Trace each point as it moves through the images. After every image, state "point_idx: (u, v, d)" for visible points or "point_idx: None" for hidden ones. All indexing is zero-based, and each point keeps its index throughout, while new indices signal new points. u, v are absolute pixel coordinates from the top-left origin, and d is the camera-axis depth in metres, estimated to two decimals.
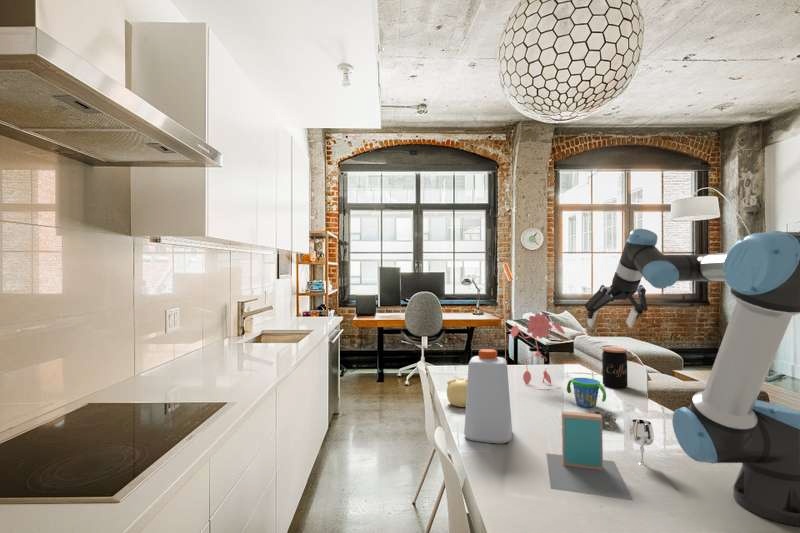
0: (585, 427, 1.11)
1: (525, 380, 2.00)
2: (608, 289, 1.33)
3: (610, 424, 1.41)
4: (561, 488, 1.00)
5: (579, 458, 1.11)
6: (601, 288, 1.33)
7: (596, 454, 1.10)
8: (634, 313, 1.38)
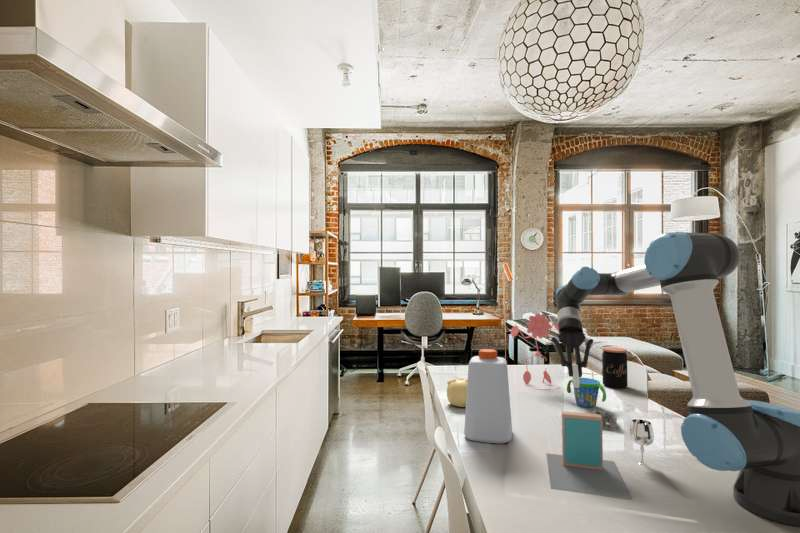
0: (585, 427, 1.11)
1: (525, 380, 2.00)
2: (556, 338, 1.36)
3: (611, 424, 1.41)
4: (561, 488, 1.00)
5: (579, 458, 1.11)
6: (552, 342, 1.35)
7: (596, 454, 1.10)
8: None
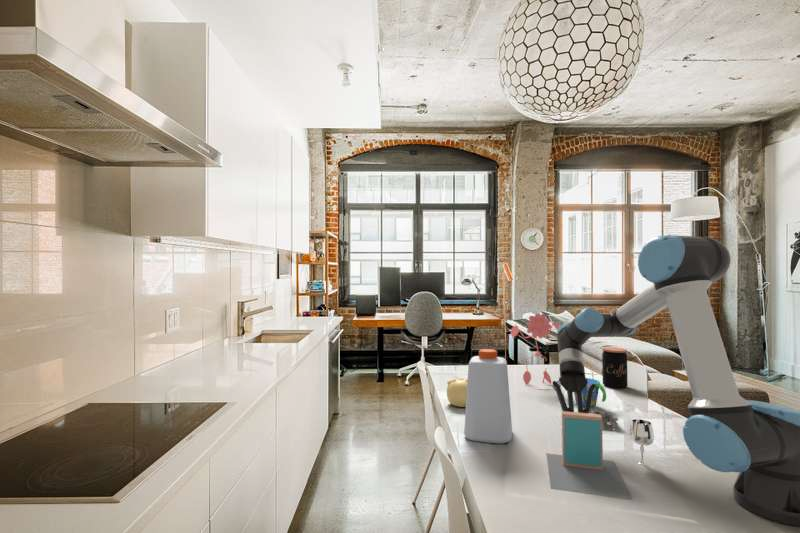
0: (585, 427, 1.11)
1: (525, 380, 2.00)
2: (557, 382, 1.32)
3: (612, 424, 1.41)
4: (561, 488, 1.00)
5: (579, 458, 1.11)
6: (553, 386, 1.32)
7: (596, 454, 1.10)
8: None
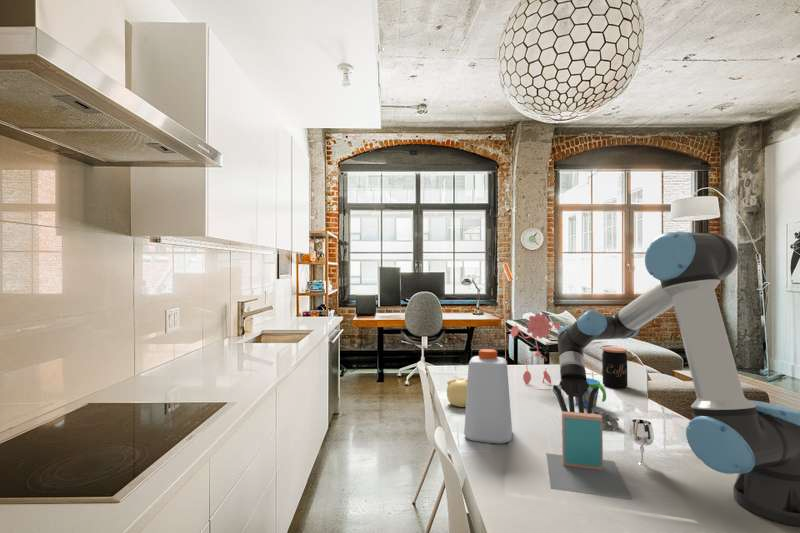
0: (585, 427, 1.11)
1: (525, 380, 2.00)
2: (558, 386, 1.28)
3: (613, 424, 1.41)
4: (561, 488, 1.00)
5: (579, 458, 1.11)
6: (553, 390, 1.28)
7: (596, 454, 1.10)
8: None
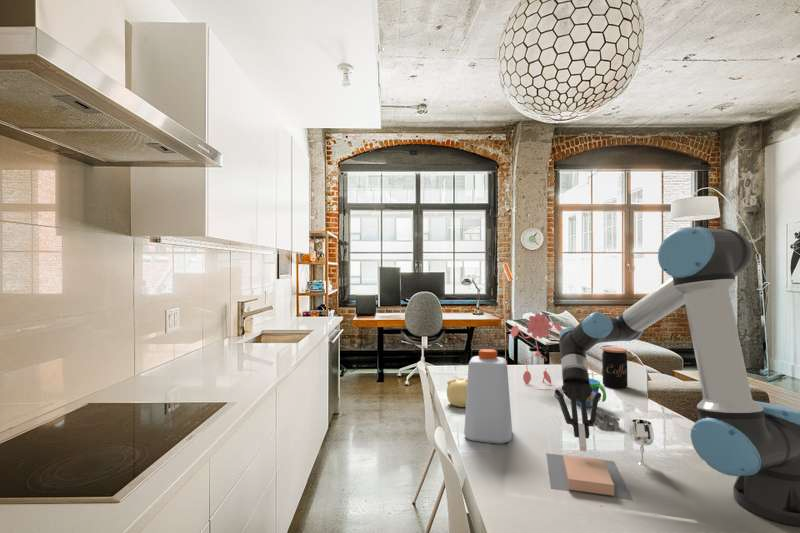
0: None
1: (525, 380, 2.00)
2: (560, 390, 1.23)
3: (614, 424, 1.41)
4: (561, 488, 1.00)
5: None
6: (555, 395, 1.23)
7: None
8: None
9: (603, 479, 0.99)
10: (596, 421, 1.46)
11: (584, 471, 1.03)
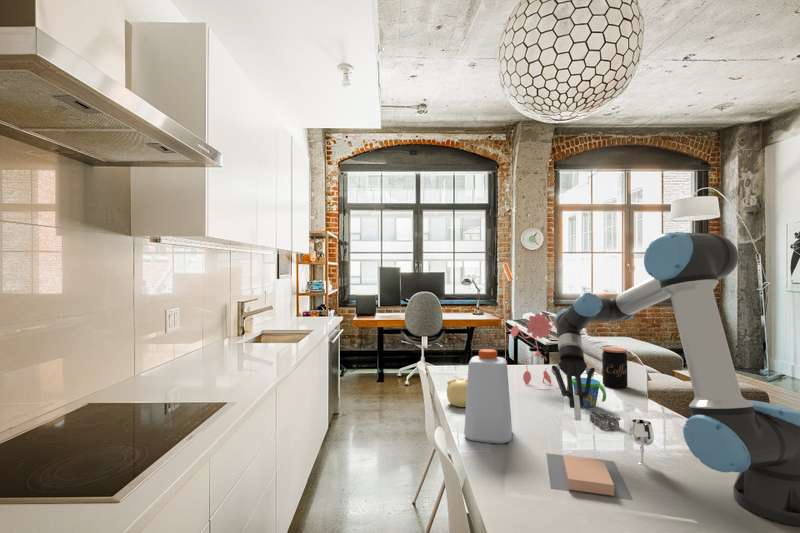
0: None
1: (525, 380, 2.00)
2: (557, 366, 1.32)
3: (615, 424, 1.41)
4: (561, 488, 1.00)
5: None
6: (552, 371, 1.32)
7: None
8: None
9: (603, 479, 0.99)
10: (596, 421, 1.45)
11: (584, 471, 1.03)
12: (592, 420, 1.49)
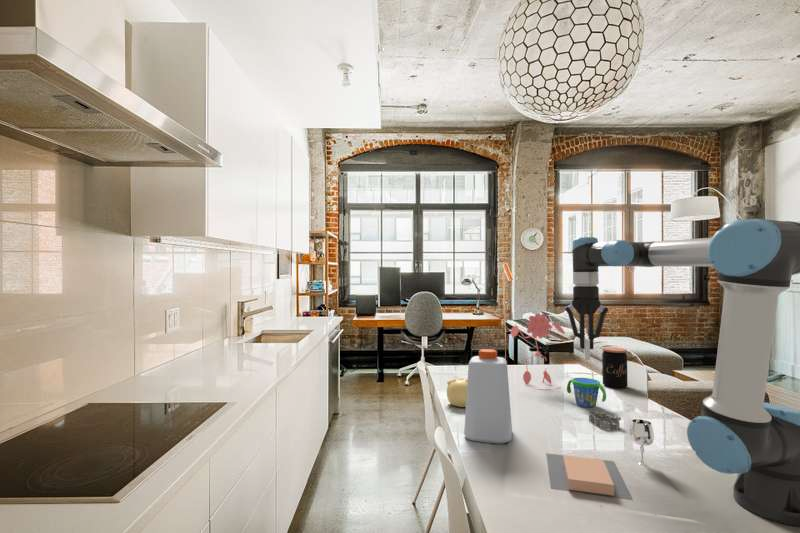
0: None
1: (525, 380, 2.00)
2: (570, 306, 1.33)
3: (616, 424, 1.41)
4: (561, 488, 1.00)
5: None
6: None
7: None
8: None
9: (603, 479, 0.99)
10: (597, 422, 1.45)
11: (584, 471, 1.03)
12: (592, 420, 1.48)
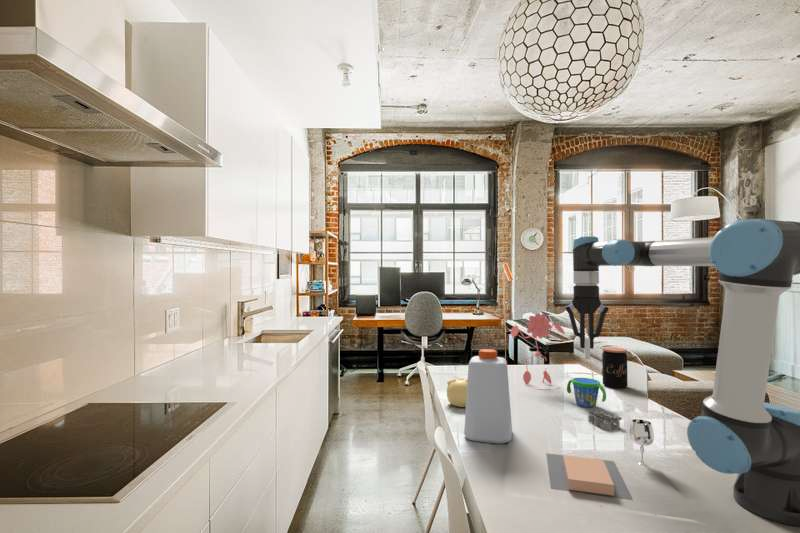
0: None
1: (525, 380, 2.00)
2: (570, 305, 1.32)
3: (617, 424, 1.42)
4: (561, 488, 1.00)
5: None
6: (566, 309, 1.33)
7: None
8: None
9: (603, 479, 0.99)
10: (597, 422, 1.45)
11: (584, 471, 1.03)
12: (591, 421, 1.48)
